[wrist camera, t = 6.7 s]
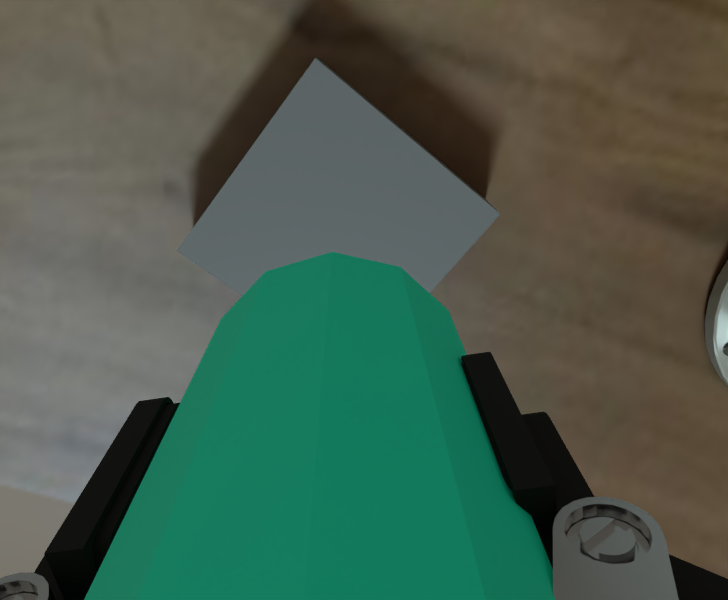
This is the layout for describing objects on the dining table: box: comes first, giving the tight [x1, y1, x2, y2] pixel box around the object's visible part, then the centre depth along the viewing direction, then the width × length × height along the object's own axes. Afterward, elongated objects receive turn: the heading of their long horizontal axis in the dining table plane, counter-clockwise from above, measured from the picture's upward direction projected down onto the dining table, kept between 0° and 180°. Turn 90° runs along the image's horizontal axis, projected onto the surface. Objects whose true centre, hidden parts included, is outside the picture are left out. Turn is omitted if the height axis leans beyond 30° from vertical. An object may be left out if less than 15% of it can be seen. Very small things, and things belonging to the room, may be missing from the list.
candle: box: [84, 252, 555, 600], centre depth 9 cm, size 6×6×12 cm
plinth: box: [177, 58, 500, 296], centre depth 28 cm, size 10×10×3 cm
